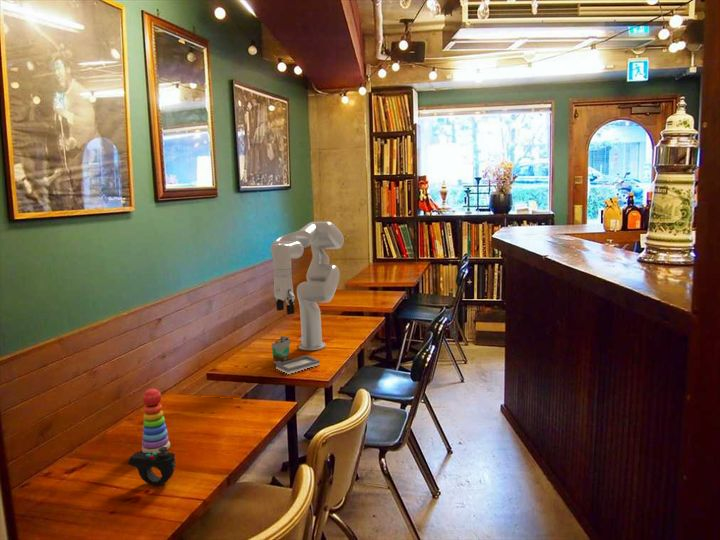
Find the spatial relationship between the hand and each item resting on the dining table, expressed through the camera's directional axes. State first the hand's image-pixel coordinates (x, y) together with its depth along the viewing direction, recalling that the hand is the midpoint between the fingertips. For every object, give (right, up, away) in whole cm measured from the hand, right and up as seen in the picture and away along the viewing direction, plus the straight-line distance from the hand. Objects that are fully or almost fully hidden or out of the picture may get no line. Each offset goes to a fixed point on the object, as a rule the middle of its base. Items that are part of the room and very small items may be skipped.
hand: (285, 311), depth 235 cm
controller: (-22, -39, -90) cm, 101 cm away
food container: (-1, -23, +6) cm, 23 cm away
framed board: (+6, -23, -3) cm, 24 cm away
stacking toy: (-29, -36, -71) cm, 85 cm away
